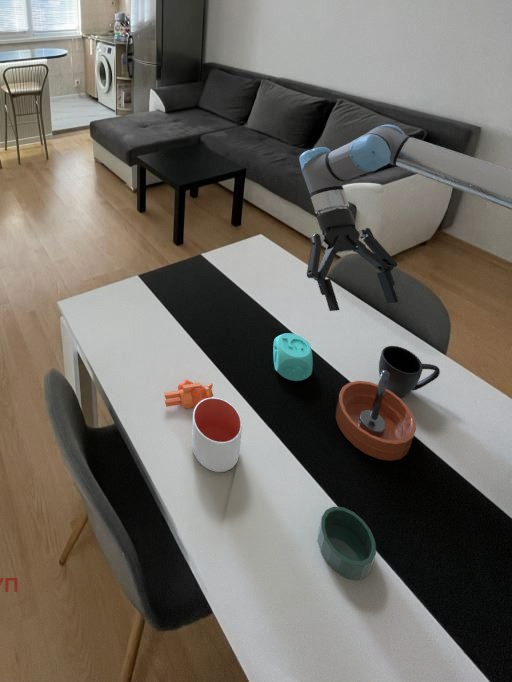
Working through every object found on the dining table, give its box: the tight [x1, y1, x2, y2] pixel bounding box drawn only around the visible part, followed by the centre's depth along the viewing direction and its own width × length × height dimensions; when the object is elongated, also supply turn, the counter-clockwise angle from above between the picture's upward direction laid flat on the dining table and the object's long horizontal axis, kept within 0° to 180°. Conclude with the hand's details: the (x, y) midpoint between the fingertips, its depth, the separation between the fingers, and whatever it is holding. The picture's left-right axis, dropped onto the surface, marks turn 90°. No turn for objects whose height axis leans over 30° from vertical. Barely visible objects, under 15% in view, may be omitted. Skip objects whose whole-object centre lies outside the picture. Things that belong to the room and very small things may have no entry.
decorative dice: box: [272, 332, 314, 382], centre depth 109 cm, size 8×8×8 cm
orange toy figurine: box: [164, 379, 214, 409], centre depth 103 cm, size 5×8×12 cm
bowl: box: [335, 380, 417, 462], centre depth 94 cm, size 14×14×6 cm
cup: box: [191, 397, 243, 473], centre depth 91 cm, size 10×10×10 cm
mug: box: [378, 345, 441, 399], centre depth 102 cm, size 8×12×10 cm
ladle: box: [359, 370, 390, 437], centre depth 92 cm, size 5×5×17 cm
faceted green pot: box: [317, 506, 377, 581], centre depth 75 cm, size 8×8×5 cm
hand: (363, 306), depth 93 cm, fingers open, 13 cm apart
